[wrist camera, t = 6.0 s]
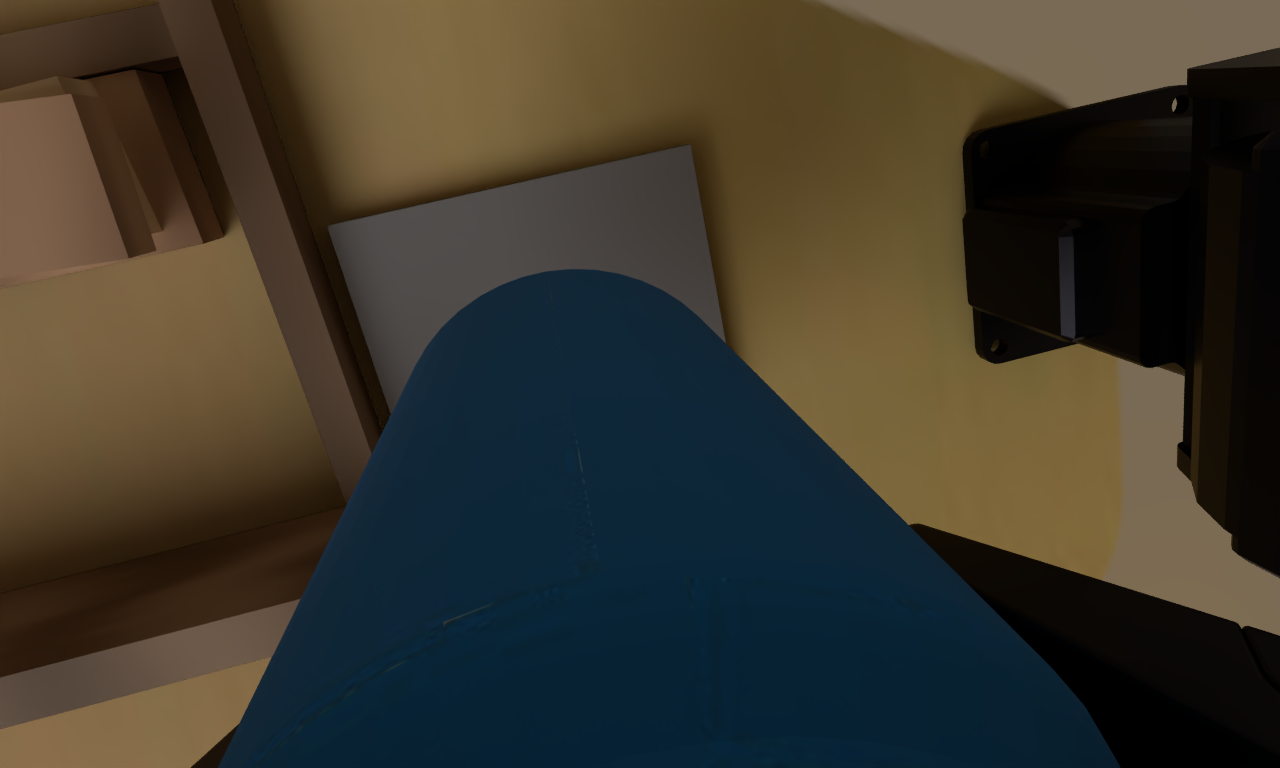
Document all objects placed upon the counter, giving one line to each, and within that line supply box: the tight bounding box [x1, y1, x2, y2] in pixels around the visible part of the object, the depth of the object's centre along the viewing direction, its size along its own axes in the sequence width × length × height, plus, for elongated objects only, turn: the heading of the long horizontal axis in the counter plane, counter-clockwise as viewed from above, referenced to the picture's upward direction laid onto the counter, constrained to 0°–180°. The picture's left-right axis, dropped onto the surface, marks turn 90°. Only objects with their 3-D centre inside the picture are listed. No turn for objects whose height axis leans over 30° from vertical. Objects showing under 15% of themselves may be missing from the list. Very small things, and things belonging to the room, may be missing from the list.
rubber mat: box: [327, 145, 726, 414], centre depth 20 cm, size 9×9×1 cm
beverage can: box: [218, 269, 1120, 768], centre depth 9 cm, size 6×6×12 cm
